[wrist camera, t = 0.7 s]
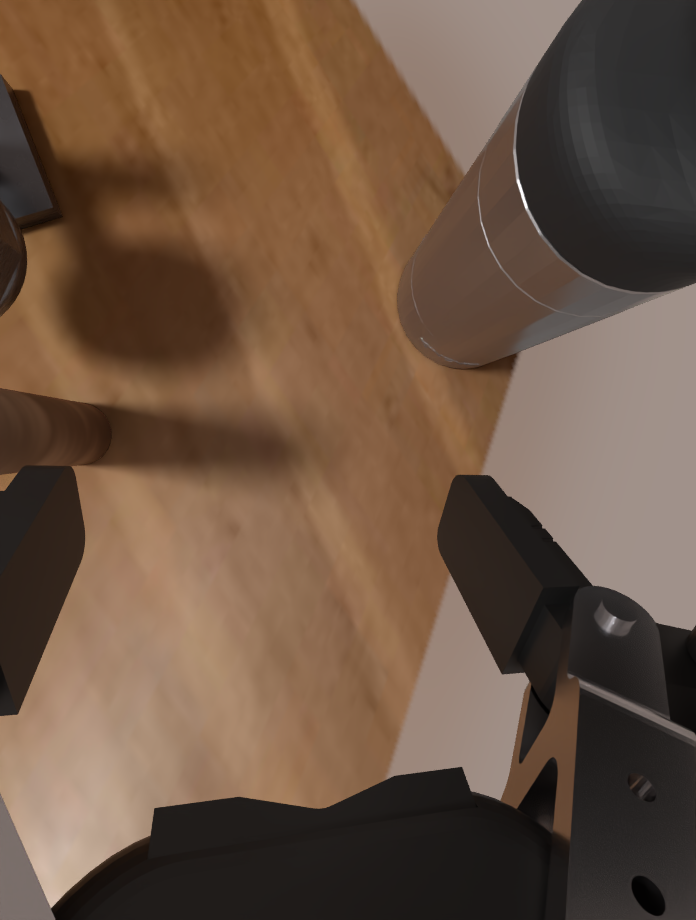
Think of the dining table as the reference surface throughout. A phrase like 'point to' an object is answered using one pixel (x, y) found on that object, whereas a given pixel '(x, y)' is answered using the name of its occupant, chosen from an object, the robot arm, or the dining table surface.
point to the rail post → (49, 431)
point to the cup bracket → (18, 195)
